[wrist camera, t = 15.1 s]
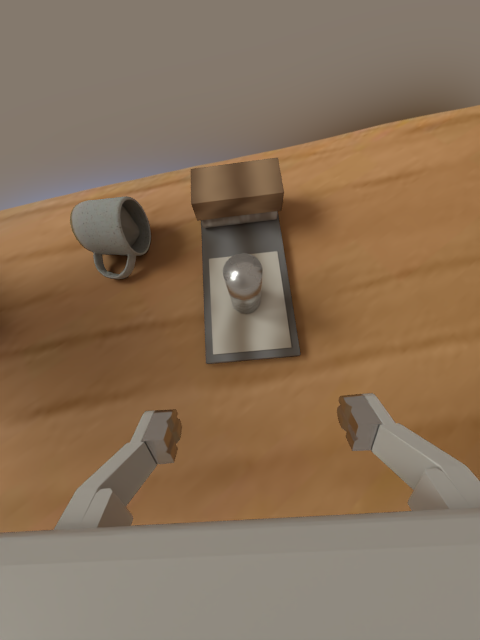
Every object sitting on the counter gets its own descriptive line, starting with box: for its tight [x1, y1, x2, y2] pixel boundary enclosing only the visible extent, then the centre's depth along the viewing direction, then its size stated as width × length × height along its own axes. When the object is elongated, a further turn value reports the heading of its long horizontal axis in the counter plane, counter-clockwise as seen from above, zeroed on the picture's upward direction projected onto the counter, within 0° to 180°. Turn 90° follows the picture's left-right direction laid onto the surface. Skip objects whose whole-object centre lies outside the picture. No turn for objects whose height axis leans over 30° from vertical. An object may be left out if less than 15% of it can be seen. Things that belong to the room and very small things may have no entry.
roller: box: [223, 253, 263, 314], centre depth 25 cm, size 4×4×8 cm
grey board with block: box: [191, 158, 301, 364], centre depth 29 cm, size 12×26×7 cm, turn 5°
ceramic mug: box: [70, 197, 151, 279], centre depth 31 cm, size 11×8×8 cm
